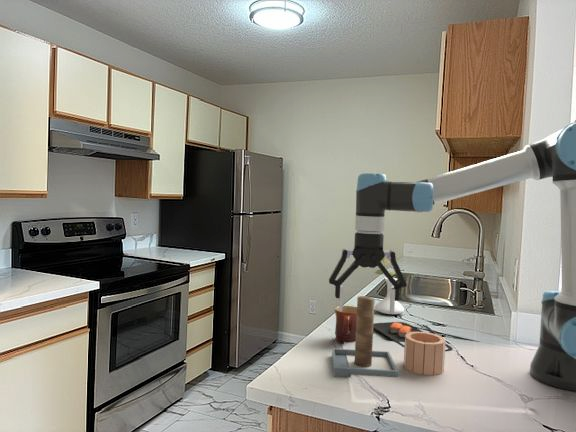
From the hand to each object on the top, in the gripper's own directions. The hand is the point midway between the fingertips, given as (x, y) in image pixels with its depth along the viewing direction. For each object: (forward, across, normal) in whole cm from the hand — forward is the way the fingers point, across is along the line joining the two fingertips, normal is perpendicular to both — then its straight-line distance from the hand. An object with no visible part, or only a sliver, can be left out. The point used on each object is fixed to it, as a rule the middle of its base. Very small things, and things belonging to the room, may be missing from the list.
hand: (365, 311), depth 118 cm
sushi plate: (+16, -25, -29) cm, 41 cm away
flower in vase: (+15, -16, -58) cm, 62 cm away
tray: (+15, 0, 0) cm, 15 cm away
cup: (+15, -16, 0) cm, 22 cm away
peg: (+14, 0, 0) cm, 14 cm away
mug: (+15, +3, -19) cm, 25 cm away
